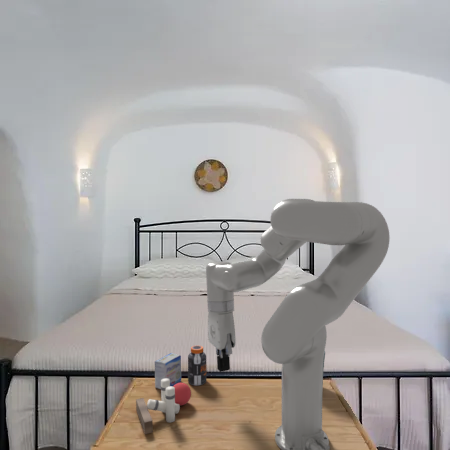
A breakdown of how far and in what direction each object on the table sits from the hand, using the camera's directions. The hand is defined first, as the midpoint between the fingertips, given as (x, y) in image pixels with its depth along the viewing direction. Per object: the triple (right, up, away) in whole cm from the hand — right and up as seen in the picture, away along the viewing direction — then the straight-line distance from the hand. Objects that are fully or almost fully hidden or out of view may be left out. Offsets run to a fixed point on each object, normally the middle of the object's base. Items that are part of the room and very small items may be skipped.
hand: (223, 369), depth 106 cm
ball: (-12, -7, +1) cm, 14 cm away
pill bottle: (-9, -10, +14) cm, 19 cm away
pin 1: (-16, -10, -2) cm, 19 cm away
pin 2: (-14, -11, -7) cm, 19 cm away
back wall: (-21, -11, -7) cm, 25 cm away
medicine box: (-18, -10, +13) cm, 24 cm away
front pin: (-13, -9, -4) cm, 16 cm away
